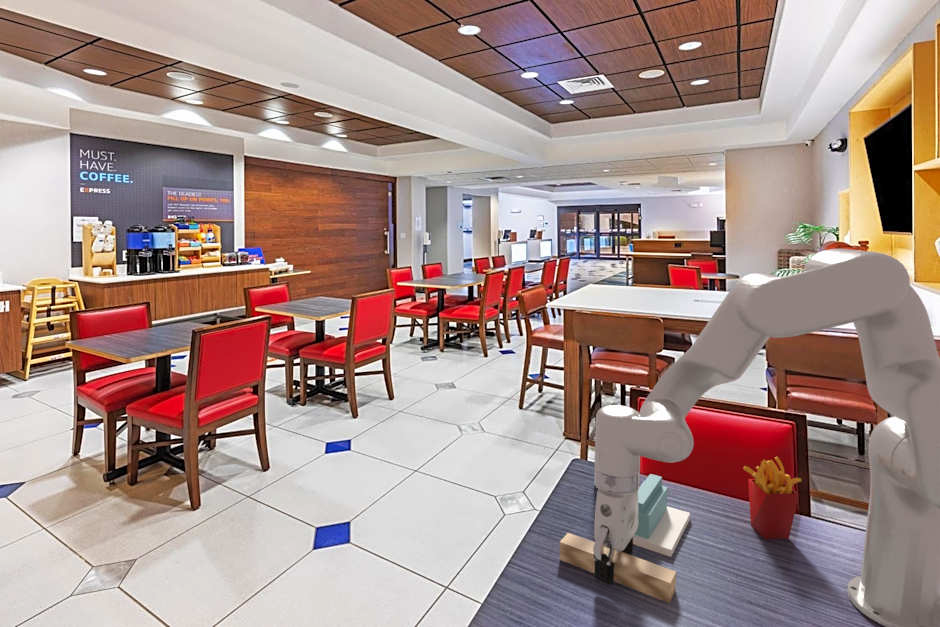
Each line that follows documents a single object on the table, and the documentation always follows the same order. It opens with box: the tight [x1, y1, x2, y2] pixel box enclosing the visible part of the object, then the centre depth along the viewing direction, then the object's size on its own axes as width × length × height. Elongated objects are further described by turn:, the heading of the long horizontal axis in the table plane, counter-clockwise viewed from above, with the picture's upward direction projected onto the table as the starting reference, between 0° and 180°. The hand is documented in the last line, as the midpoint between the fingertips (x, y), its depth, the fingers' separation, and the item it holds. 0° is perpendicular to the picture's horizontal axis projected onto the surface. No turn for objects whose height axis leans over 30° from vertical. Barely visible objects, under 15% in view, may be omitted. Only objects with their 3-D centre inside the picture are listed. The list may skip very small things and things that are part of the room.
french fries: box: [743, 456, 802, 540], centre depth 102 cm, size 9×8×15 cm
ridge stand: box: [633, 473, 691, 558], centre depth 104 cm, size 14×15×8 cm
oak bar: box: [559, 532, 677, 604], centre depth 90 cm, size 20×4×4 cm, turn 54°
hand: (614, 566), depth 90 cm, fingers open, 9 cm apart
